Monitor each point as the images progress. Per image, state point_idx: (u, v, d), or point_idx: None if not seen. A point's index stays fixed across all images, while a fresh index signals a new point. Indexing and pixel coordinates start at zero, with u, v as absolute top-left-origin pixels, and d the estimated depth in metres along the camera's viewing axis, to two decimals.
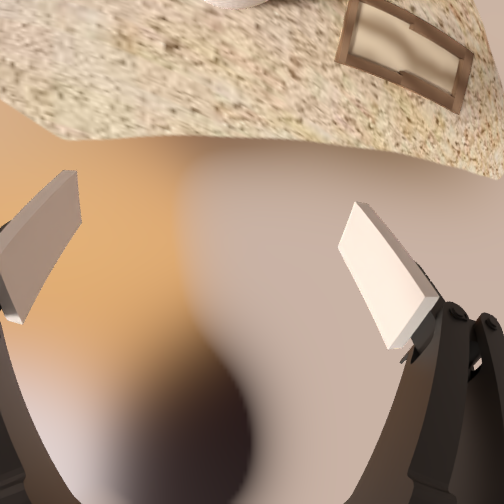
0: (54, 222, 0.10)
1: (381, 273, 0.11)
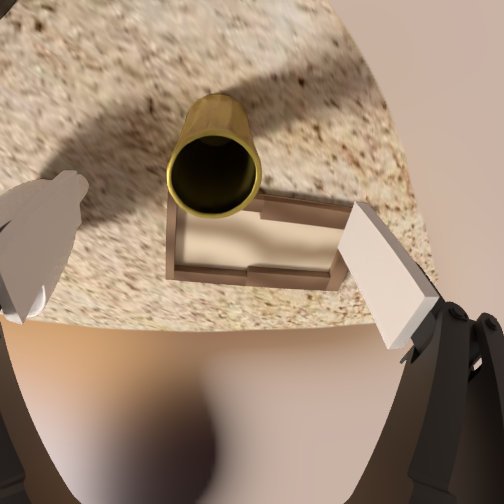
0: (54, 222, 0.10)
1: (381, 273, 0.11)
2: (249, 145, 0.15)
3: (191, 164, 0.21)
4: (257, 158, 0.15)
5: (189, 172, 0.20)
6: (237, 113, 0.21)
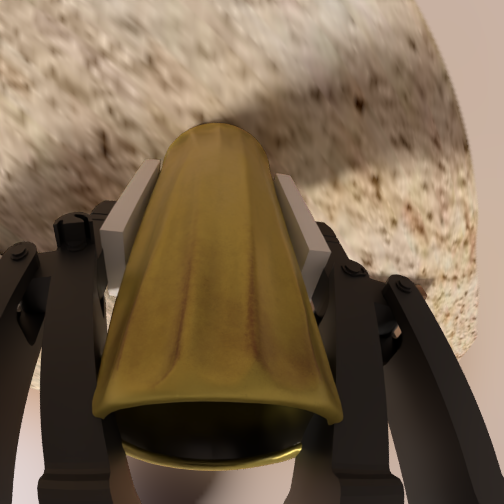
0: None
1: None
2: (324, 404, 0.04)
3: None
4: (339, 418, 0.05)
5: None
6: (258, 181, 0.10)
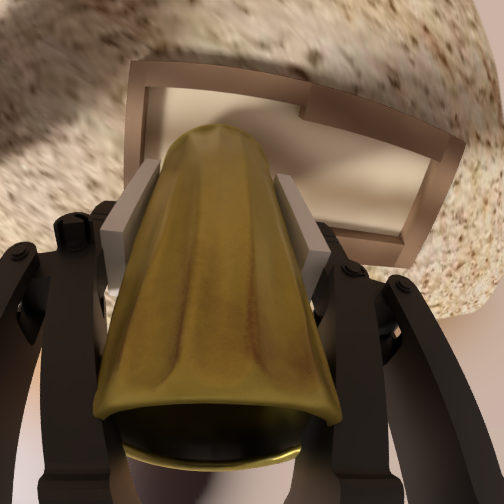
0: None
1: None
2: (324, 406, 0.04)
3: None
4: (338, 420, 0.05)
5: None
6: (258, 182, 0.10)
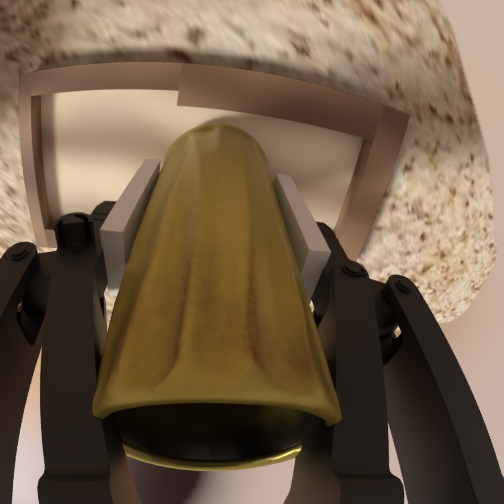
0: None
1: None
2: (323, 405, 0.04)
3: None
4: (337, 419, 0.05)
5: None
6: (258, 182, 0.10)
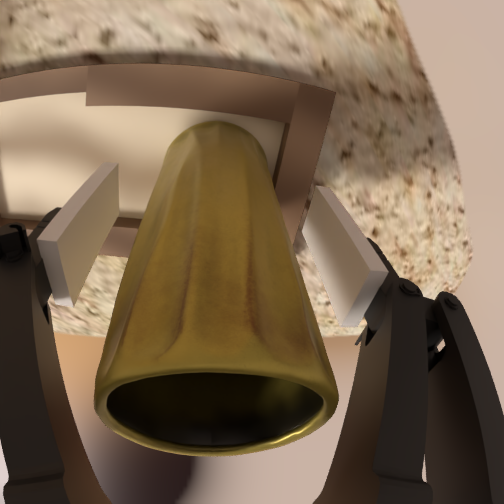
0: (100, 210, 0.11)
1: (335, 252, 0.11)
2: (320, 380, 0.05)
3: None
4: (334, 397, 0.05)
5: None
6: (257, 176, 0.11)
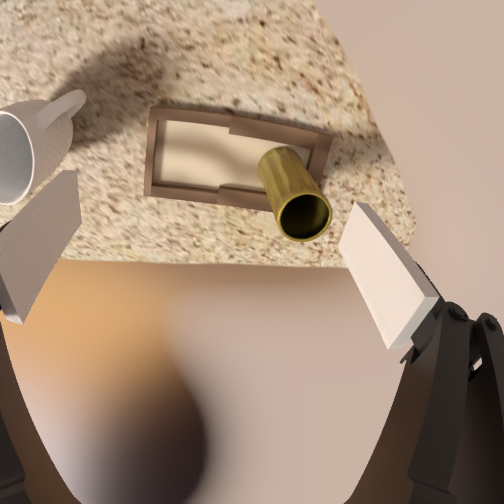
0: (54, 222, 0.10)
1: (381, 273, 0.11)
2: (327, 201, 0.26)
3: None
4: (331, 208, 0.26)
5: None
6: (305, 169, 0.32)
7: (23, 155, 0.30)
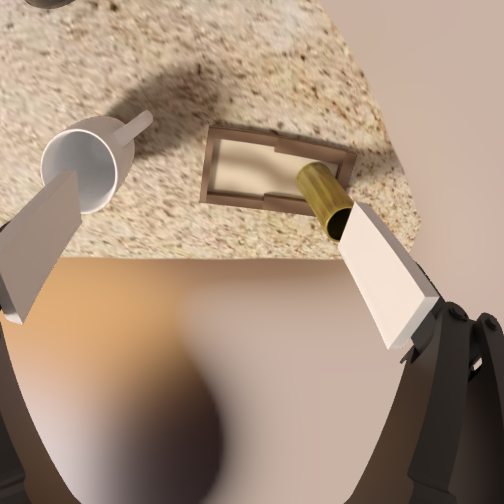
0: (54, 222, 0.10)
1: (381, 273, 0.11)
2: None
3: None
4: None
5: None
6: None
7: (83, 165, 0.37)
